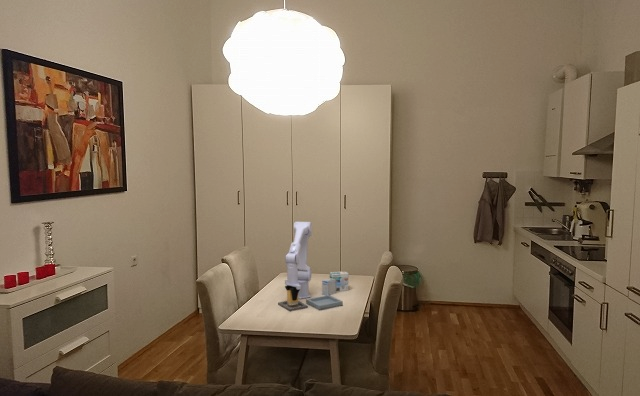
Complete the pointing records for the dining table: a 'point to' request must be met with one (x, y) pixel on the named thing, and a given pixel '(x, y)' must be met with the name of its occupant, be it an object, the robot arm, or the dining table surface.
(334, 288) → the medicine box
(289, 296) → the block
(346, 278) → the white printed carton
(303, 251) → the robot arm
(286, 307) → the holder frame
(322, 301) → the parts tray
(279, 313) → the dining table surface
